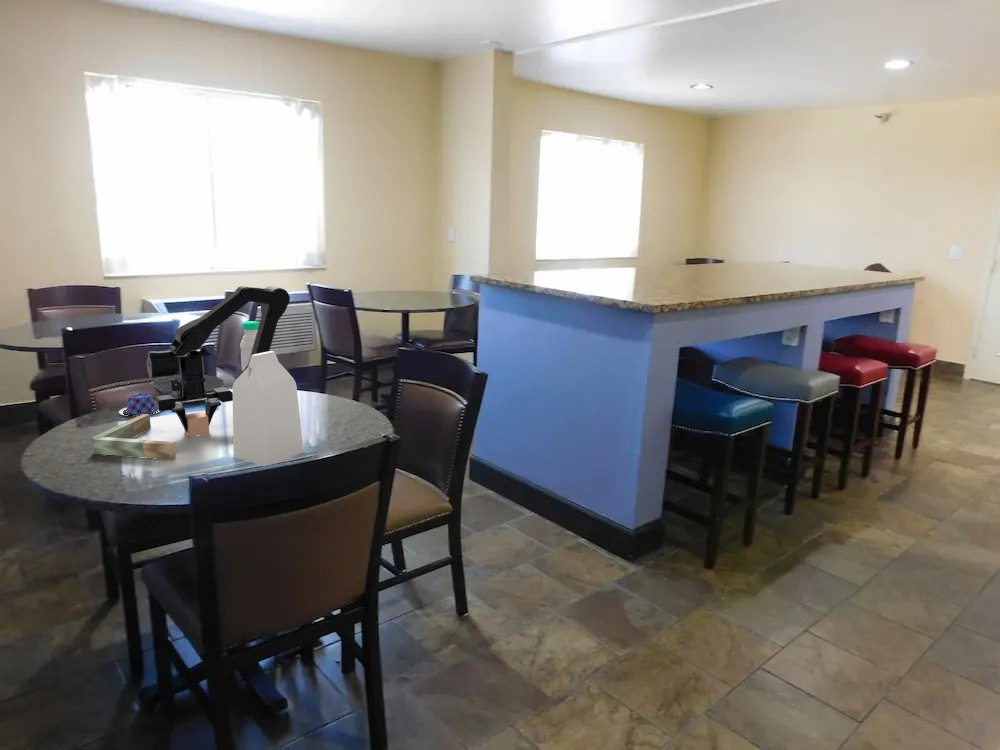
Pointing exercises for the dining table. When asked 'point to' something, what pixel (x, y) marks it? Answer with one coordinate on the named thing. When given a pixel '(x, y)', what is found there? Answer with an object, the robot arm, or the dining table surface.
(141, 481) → the dining table surface
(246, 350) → the water bottle
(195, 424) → the cube
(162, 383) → the board
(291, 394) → the milk
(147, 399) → the pudding
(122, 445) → the arena
